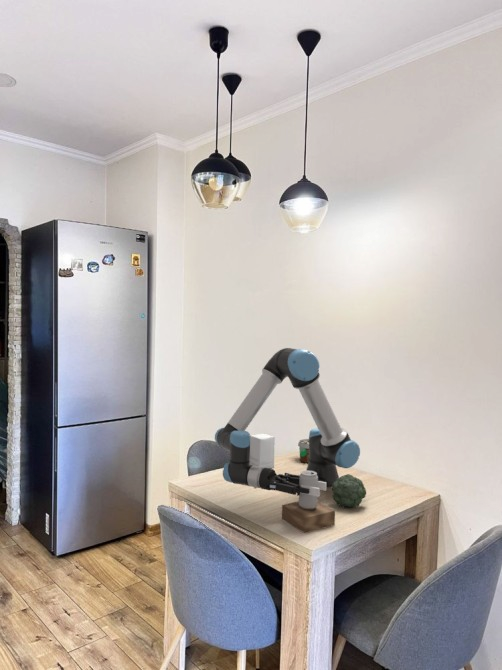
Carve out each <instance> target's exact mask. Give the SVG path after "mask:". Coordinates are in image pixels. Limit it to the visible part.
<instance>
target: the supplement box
mask: <svg viewBox="0 0 502 670" xmlns="http://www.w3.org/2000/svg"><path fill="white" fill-rule="evenodd" d="M275 438H276V437H275V436H272V435H269V434H266V433H257V434H250V442H251V443H250V465H253V466H259V467H264V468H270V469H274V468H275V444H276V443H275V440H276V439H275Z"/></svg>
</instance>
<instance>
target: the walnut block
mask: <svg viewBox="0 0 502 670" xmlns="http://www.w3.org/2000/svg"><path fill="white" fill-rule="evenodd" d="M281 520H283V521H284V522H286V523H288V524H289V525H291V526H292V527H294V528H295V529H297V530H299V531H301V532H302V533H304V534H306V533H310V532H313V531H317V530H318V531H319V530H322V529H325V527H326V528H329V527H332V526H335V525H336V524H335V523H336V511H335V509H333V508H330V506H326V505H324V504H323V503H321V502H319V501H317V507H316V508H315V509H303V508H302V507H301V506H300V505H299V500H298V501H294V502H290V503H286V504H281Z"/></svg>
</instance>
